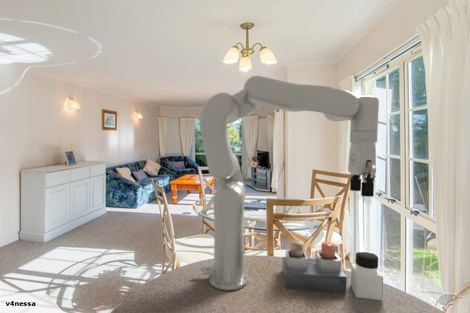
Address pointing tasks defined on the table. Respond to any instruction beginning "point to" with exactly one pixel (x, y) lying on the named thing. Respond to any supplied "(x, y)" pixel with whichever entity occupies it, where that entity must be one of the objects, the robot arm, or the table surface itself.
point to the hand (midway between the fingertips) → (360, 193)
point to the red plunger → (328, 250)
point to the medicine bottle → (366, 276)
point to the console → (313, 273)
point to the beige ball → (296, 248)
